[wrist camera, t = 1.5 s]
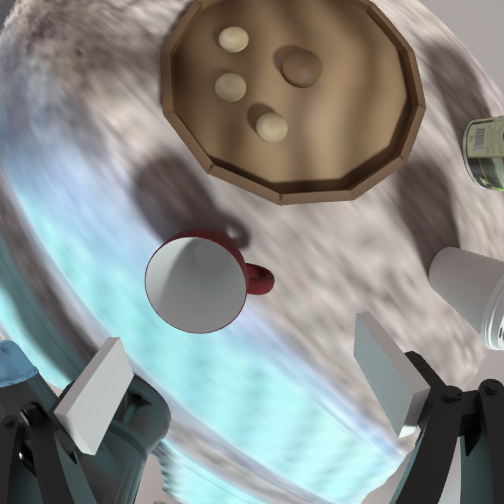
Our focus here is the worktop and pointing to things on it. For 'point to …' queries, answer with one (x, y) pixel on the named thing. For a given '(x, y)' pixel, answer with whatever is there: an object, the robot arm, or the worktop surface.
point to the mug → (202, 281)
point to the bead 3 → (271, 127)
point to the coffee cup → (472, 290)
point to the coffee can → (485, 152)
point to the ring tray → (295, 96)
